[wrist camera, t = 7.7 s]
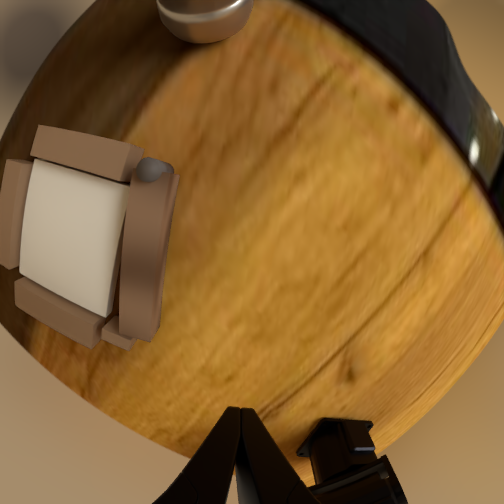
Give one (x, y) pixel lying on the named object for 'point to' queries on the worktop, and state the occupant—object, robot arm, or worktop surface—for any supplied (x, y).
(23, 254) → the seat
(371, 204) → the worktop surface
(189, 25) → the silver metal bottle
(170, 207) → the leg
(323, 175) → the worktop surface
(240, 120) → the worktop surface
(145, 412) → the worktop surface
